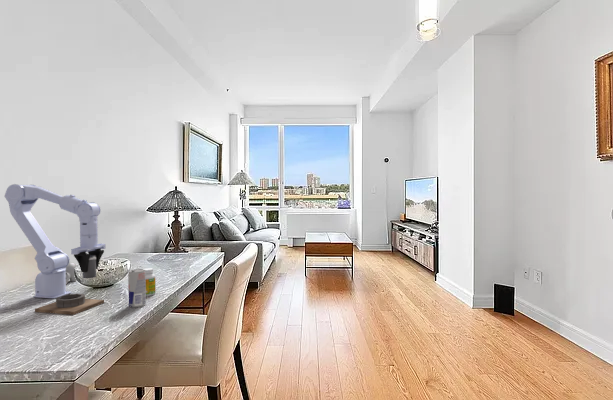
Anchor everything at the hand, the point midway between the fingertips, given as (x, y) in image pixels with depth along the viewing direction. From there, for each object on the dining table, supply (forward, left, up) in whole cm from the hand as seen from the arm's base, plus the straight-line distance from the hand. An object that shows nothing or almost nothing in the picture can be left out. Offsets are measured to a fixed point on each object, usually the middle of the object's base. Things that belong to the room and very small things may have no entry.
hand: (89, 270), depth 139 cm
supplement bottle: (+21, +5, -10) cm, 24 cm away
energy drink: (+26, -8, -10) cm, 29 cm away
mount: (+5, -14, -9) cm, 17 cm away
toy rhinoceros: (-25, +15, -10) cm, 31 cm away
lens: (0, 0, -2) cm, 2 cm away
